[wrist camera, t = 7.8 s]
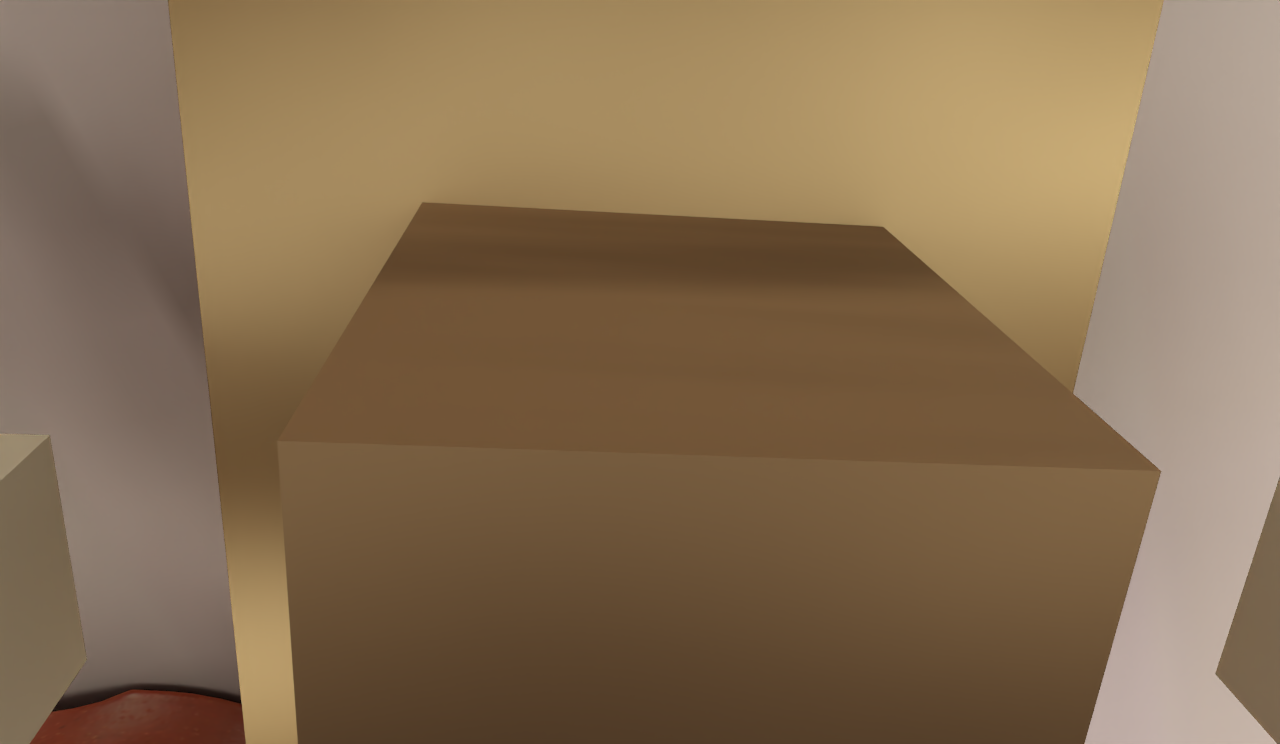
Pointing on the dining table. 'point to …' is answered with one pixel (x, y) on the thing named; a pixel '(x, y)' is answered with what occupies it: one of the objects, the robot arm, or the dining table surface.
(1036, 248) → the oak pedestal
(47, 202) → the dining table surface
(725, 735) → the walnut block
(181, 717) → the flower pot
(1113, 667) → the dining table surface
